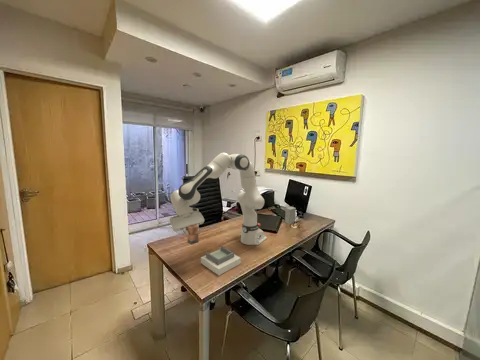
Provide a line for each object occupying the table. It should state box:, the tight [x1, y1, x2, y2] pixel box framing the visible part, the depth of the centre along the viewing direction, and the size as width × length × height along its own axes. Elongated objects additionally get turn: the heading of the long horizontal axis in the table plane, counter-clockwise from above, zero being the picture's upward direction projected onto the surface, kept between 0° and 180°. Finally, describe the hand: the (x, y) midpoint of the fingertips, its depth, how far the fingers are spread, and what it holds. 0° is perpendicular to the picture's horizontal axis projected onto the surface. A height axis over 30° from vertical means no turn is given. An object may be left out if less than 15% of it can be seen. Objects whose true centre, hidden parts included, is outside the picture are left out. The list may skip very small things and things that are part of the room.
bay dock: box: [200, 245, 242, 276], centre depth 129 cm, size 18×18×7 cm
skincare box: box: [284, 206, 297, 225], centre depth 203 cm, size 8×7×16 cm
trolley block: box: [186, 225, 199, 245], centre depth 122 cm, size 5×4×10 cm
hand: (193, 233), depth 121 cm, fingers closed on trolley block, 5 cm apart
